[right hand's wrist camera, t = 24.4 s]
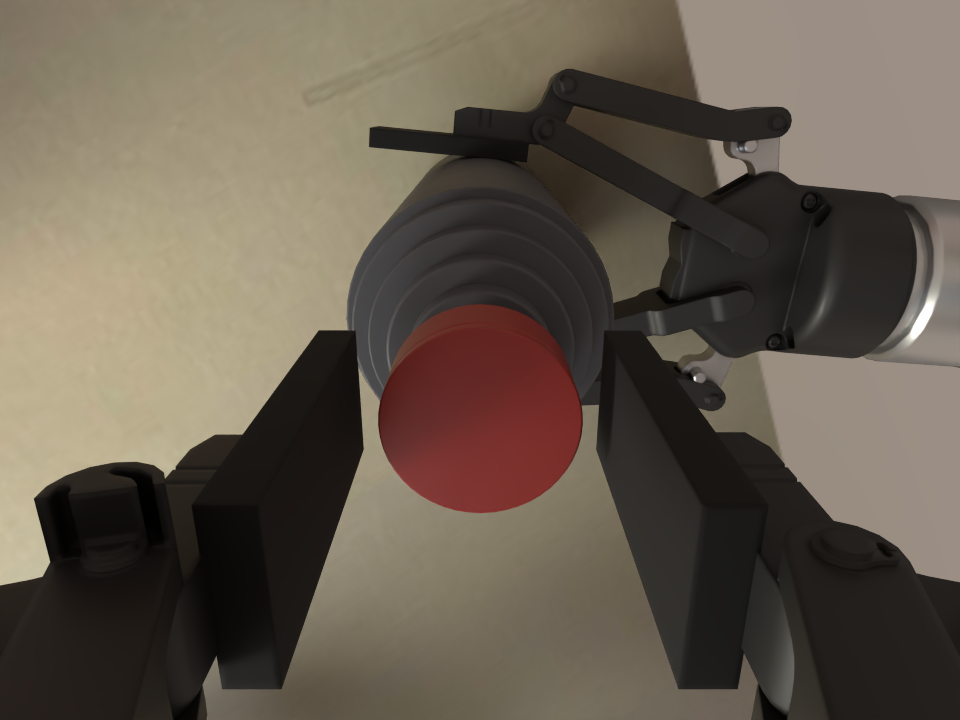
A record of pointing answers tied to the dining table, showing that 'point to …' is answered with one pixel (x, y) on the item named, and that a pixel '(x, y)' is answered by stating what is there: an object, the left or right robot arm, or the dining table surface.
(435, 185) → the bottle
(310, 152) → the dining table surface
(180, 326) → the dining table surface
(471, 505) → the cap
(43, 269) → the dining table surface
